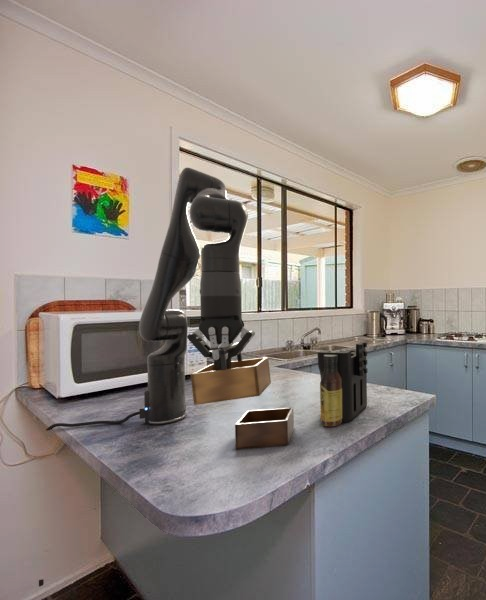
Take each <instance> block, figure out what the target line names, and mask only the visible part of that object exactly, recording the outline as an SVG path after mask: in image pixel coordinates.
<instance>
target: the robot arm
mask: <svg viewBox="0 0 486 600" xmlns="http://www.w3.org/2000/svg"><path fill="white" fill-rule="evenodd" d="M227 194H228V193H227V188H226V184H225V183H224V182H223V180H221V179H220V178H217V177H216V176H213V175H210V174H207V173H205V172H202V171H199V170H197V169H194V168H191V167H185V168H183V169H182V170H181V172H180V174H179V177H178V181H177V185H176V189H175V195H174V200H173V205H172V211H171V215H170V220H169V225H168V227H167V231H166V234H165V238H164V241H163V244H162V247H161V251H160V254H159V259H158V263H157V268H156V272H155V275H154V280H153V283H152V286H151V289H150V292H149V295H148V297H147V300H146V303H145V305H144V307H143V310H142V313H141V316H140V319H139V325H138V332H139V335H140V338H141V339H142V340H143V341H145V342H162V341H165V342H164V344H163V345H162V346H161V347H160V348H158V349H156V351H152V352H151V353H149V354H148V355H147V358H146V363H147V367H146V368H147V369H146V370H147V371H146V372H147V389H146V390H145V391H144V392H143V394H144V395H143V397H144V399H143V400H144V401H143V402H144V406H143V407H140V408H139V411H134V412H132V413H130V414H128V415H127V416H126V417H124V418H123V419H120V420H95V421H84V422H75V423H66V422H65V423H64V422H57V423H53V424H51V425H49V426H48V427H47V428H45V431H47V432H48V431H51V430H53V429H55V428H57V427H63V428H75V427H84V426H91V425H93V426H94V425H119V424H123V423H126V422H127V421H128V420H130V419H131V418H133V417H135V416H138V415H139V420H141V419H144V424H146V425H155V426H156V425H158V426H159V425H165V424H170V423H174V422H179V421H181V420H183V419H185V418H186V417H187V411H186V408H187V405H186V365H185V363H186V357H185V356H186V353H187V350H188V349H187V348H188V341H189V342H190V343H191V344H192V345H193V347H195V348H196V349H197V351H198V352H199V353H200V354H201V355H202V356H203V357H204V358H205V359H206V358H210V359H212V361H213V364H214V371H217V370H222V368H221V359H220V354H219V350H220V349H223V348H225V347H228V346H230V345H233V344H234V341H235V340H236V339H237V338H238V337H239V336H240V340H239V341H238V342H239V343H238V342H237V343H238V344H237V345H236V347H235V348H234V349H233V351H231V352H229V353H226V354H225V356H226V365H227V369H231V362H232V359H233V357H237V355H238V354H240V353H241V354H242V351H243V350H244V349H245V348H246V347H247V345H248V344H249V343H250V342H251V340H252V339H253V337H254V336H255V335H256V334H255V333H256V332H255V331H254V330H250V329H248V328H247V327H245V322H244V320H243V318H242V317H243V315H242V311H243V309H242V282H241V274H240V271H241V270H240V254H241V253H240V252H241V245H242V241H243V237H244V234H245V231H246V227H247V224H248V222H249V221H248V220H249V214H248V210H247V208H246V206H245V205H244V204H243V203H242V202H240V201H238V200H232V199H229V198H228V197H227ZM188 204H190V207H189V216H188ZM189 218H190V220H189ZM190 222H191V223H192V225H193V226H194V228H196V229H197V230H199V231H201V232H206V233H215V234H216V233H217V234H227V235H228V238H227V239H226V240H223V241H219V242H211V243H210V242H209V243H205V244H203V246H202V247H201V249H200V246H199V243H198V241H197V239H196V236H195V234H194V232H193V229H192V226H191V223H190ZM199 262H200V263H201V264H200V265H201V266H200V267H201V268H200V269H201V271H200V274H201V276H200V281H199V294H200V297H199V298H200V301H199V302H200V322H199V324H198V328H197V329H196V330H195V331H193V332H191V333H189V334H188V319H187V316H186V314H185V312H184V311H182V310H180V309H168V307H169V304H170V303H171V302H172V300H173V298H174V297H175V296H176V295H177V294H178V293H179V292H180V291H181V290H183V288H184V287H185V286H187V284H188V283H189V282H190V281H191V280H192V279H193V277H194V276H195V275H196V272H197V268H198V264H199ZM204 337H205V339H207V341H208V342H209V344H210V345H209V344H208V343H207V342H206V341H205V340H204ZM44 584H45V583H44V579H42V578H41V579H38V587H43V586H44Z"/></svg>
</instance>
